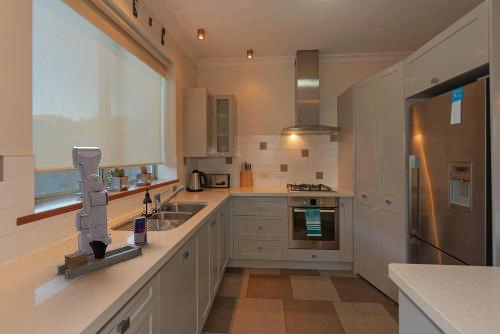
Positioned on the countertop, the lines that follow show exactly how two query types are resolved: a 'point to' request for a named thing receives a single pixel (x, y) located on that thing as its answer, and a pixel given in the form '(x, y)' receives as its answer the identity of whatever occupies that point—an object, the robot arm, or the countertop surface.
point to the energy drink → (140, 230)
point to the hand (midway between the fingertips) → (100, 260)
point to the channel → (102, 260)
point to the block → (77, 259)
